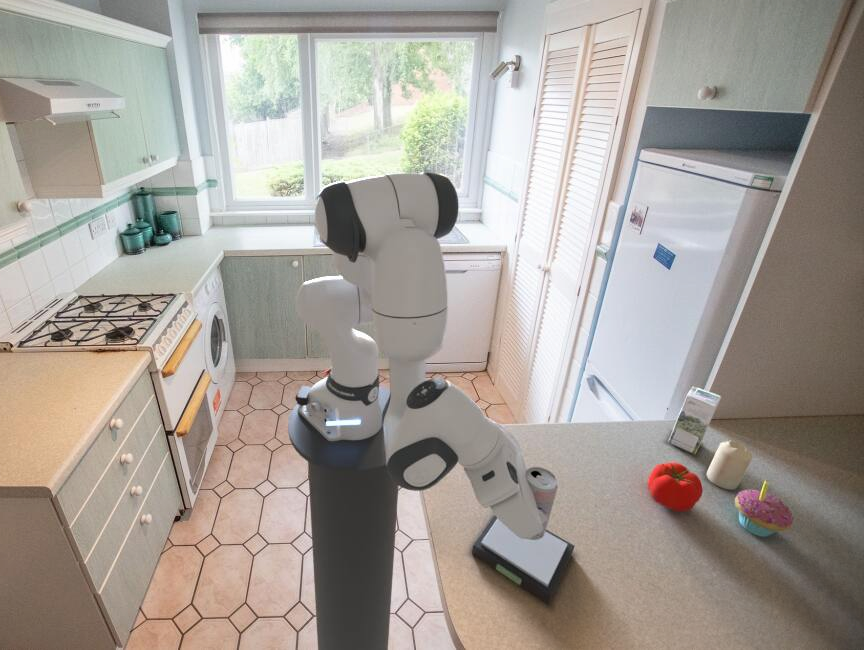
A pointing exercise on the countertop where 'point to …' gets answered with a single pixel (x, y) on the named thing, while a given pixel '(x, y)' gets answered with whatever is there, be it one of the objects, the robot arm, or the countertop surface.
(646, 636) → the countertop surface
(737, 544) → the countertop surface
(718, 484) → the candle
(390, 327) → the robot arm
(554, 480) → the energy drink
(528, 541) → the scale
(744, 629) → the countertop surface
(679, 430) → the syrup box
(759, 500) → the cupcake
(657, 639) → the countertop surface
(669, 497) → the tomato
